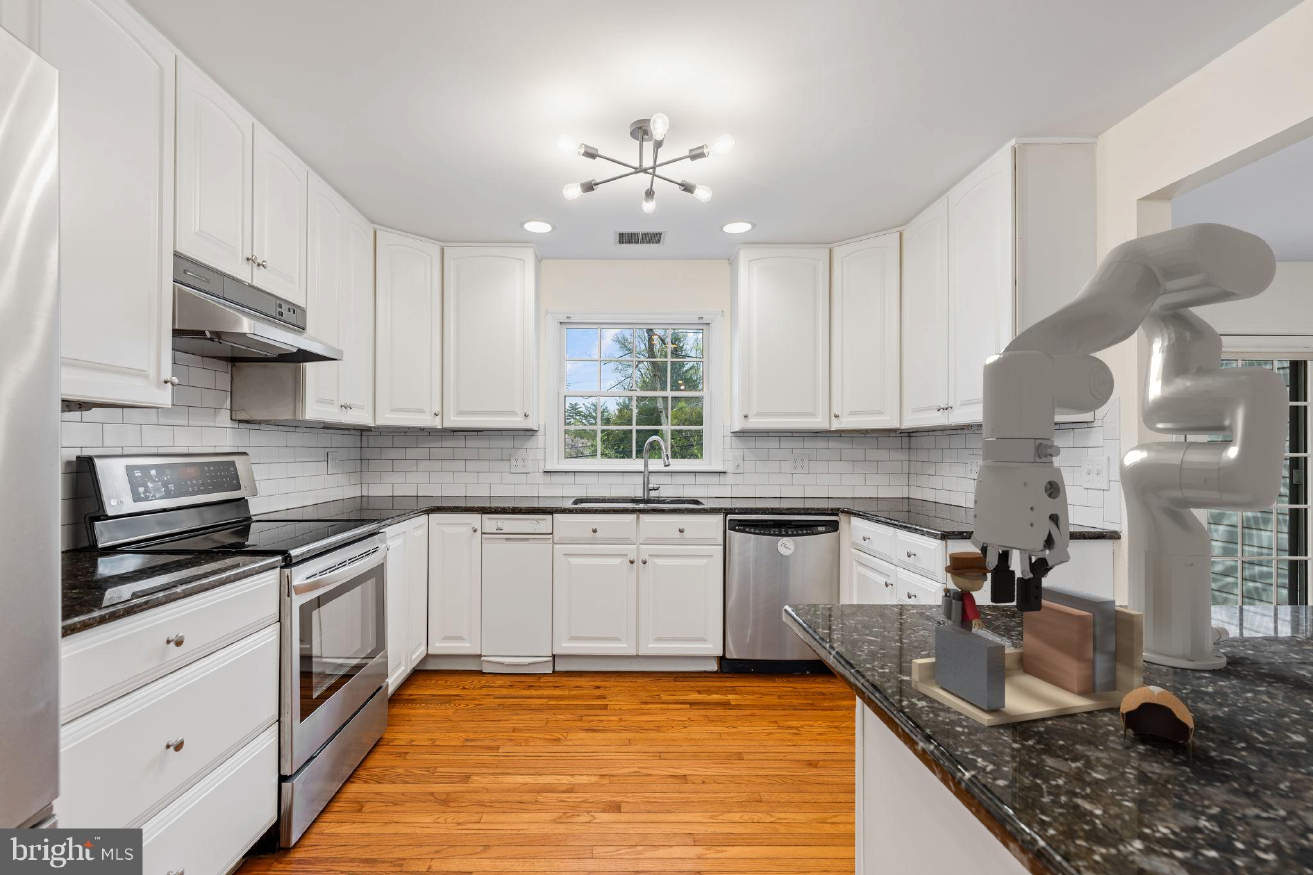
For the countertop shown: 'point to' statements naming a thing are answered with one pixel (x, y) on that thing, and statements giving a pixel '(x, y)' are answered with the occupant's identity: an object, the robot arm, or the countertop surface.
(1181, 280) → the robot arm
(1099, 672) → the book rack
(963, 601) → the toy
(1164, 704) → the helmet
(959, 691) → the bookend
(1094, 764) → the countertop surface
